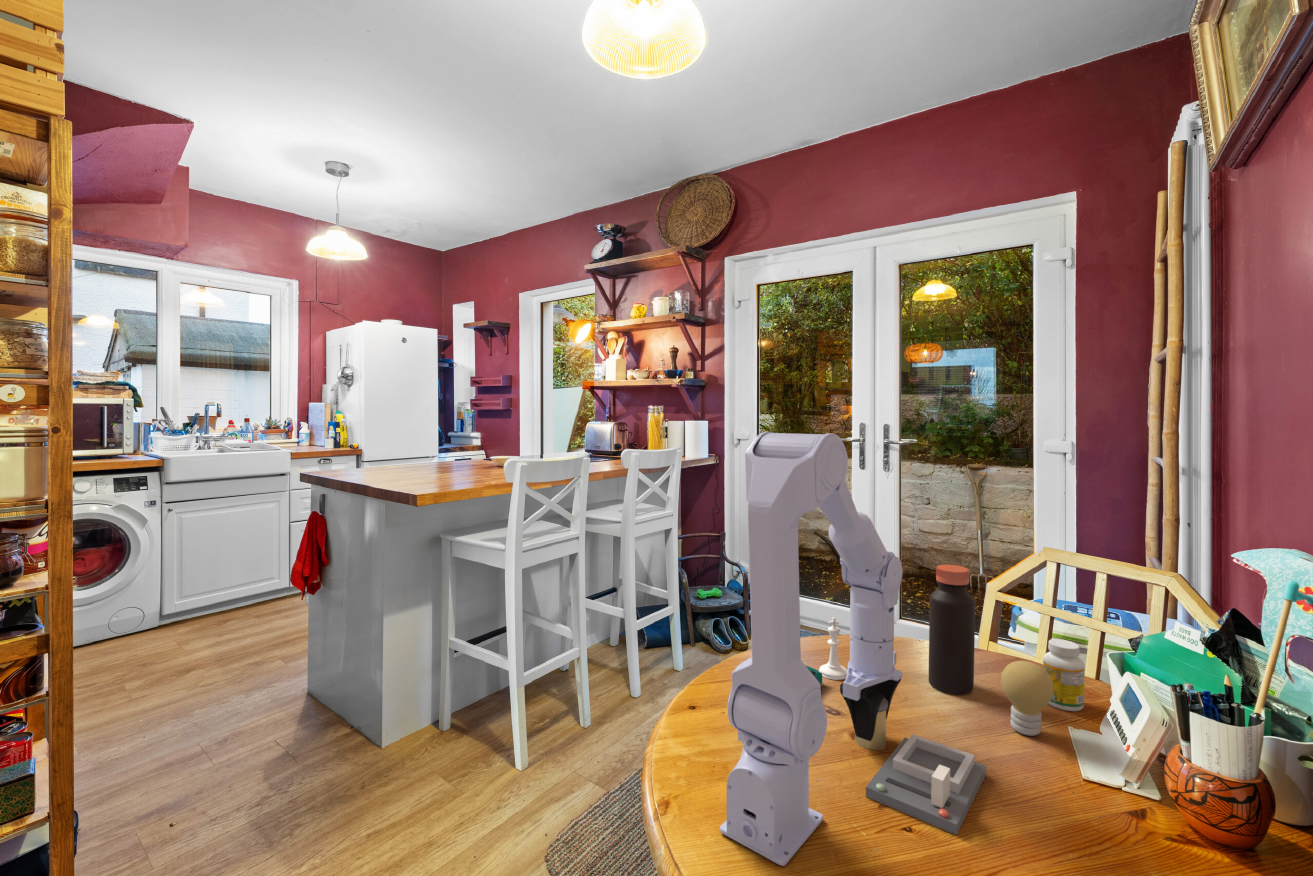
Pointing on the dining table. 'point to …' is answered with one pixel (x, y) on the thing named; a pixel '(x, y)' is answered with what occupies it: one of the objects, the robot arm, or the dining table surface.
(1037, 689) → the light bulb
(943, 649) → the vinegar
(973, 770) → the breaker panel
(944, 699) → the dining table surface
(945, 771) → the lever
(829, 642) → the chess piece
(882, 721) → the beige cylinder
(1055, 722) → the dining table surface
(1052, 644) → the supplement bottle
